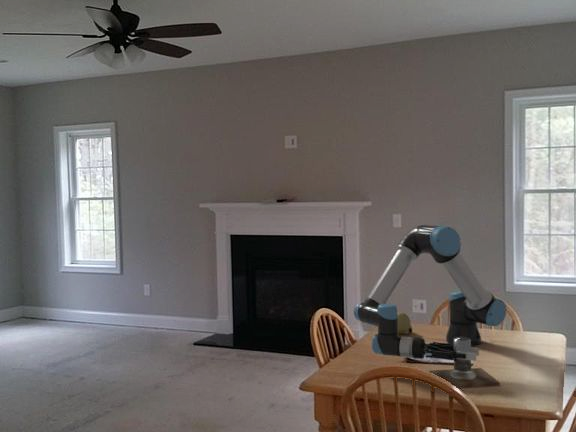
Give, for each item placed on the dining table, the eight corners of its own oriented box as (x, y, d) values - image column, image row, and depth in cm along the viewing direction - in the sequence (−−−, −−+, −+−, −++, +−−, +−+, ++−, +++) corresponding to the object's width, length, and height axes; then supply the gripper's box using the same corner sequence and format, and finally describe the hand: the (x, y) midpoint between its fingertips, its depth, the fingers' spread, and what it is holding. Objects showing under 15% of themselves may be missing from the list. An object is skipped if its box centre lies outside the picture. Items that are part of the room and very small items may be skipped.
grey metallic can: (467, 366, 204) (467, 335, 203) (473, 371, 198) (473, 339, 197) (451, 366, 203) (451, 336, 203) (457, 372, 197) (457, 340, 197)
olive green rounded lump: (402, 343, 264) (419, 328, 262) (385, 325, 264) (401, 310, 262) (399, 337, 273) (415, 323, 272) (383, 319, 273) (399, 305, 272)
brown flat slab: (480, 371, 209) (480, 365, 209) (499, 385, 193) (499, 379, 193) (429, 373, 208) (429, 368, 208) (443, 388, 192) (443, 382, 192)
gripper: (419, 350, 217) (481, 357, 206) (406, 364, 200) (473, 372, 190) (418, 332, 217) (480, 337, 206) (406, 344, 200) (473, 350, 189)
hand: (477, 354), depth 198 cm, fingers closed on grey metallic can, 6 cm apart
